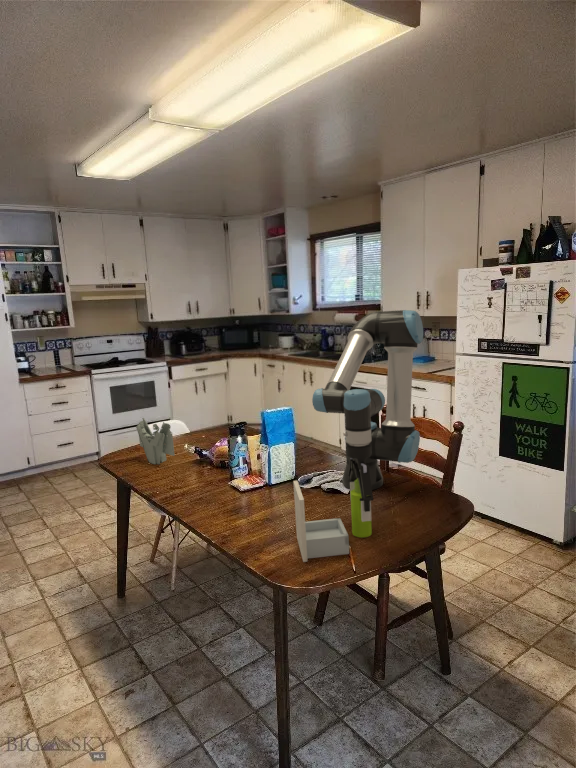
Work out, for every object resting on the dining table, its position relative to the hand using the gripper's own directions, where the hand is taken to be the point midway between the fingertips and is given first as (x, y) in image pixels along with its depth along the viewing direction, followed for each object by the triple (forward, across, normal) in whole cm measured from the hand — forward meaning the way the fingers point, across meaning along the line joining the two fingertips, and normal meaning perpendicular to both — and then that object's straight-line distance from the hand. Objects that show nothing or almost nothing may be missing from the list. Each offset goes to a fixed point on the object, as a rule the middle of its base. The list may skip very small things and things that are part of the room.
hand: (360, 510), depth 147 cm
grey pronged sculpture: (+7, -86, -74) cm, 114 cm away
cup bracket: (+7, +6, -13) cm, 16 cm away
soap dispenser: (+7, 0, 0) cm, 7 cm away
